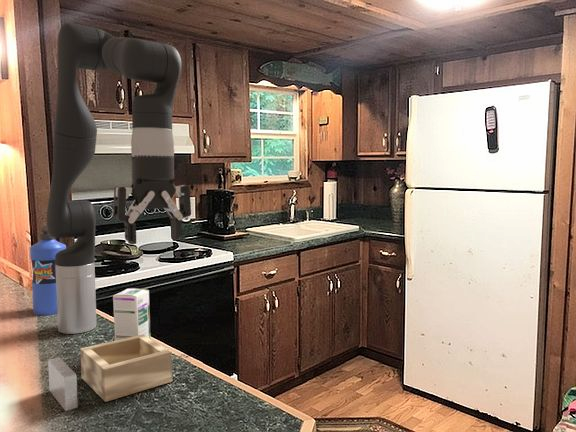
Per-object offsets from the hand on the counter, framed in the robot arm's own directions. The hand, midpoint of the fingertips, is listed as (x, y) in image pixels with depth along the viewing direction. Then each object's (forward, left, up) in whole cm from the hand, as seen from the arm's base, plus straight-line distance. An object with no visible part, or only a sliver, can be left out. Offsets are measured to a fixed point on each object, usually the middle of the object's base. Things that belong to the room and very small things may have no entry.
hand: (154, 241), depth 90 cm
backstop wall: (-6, -15, -28) cm, 33 cm away
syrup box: (-18, +3, -28) cm, 34 cm away
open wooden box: (-6, -3, -28) cm, 29 cm away
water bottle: (-65, -2, -28) cm, 71 cm away
